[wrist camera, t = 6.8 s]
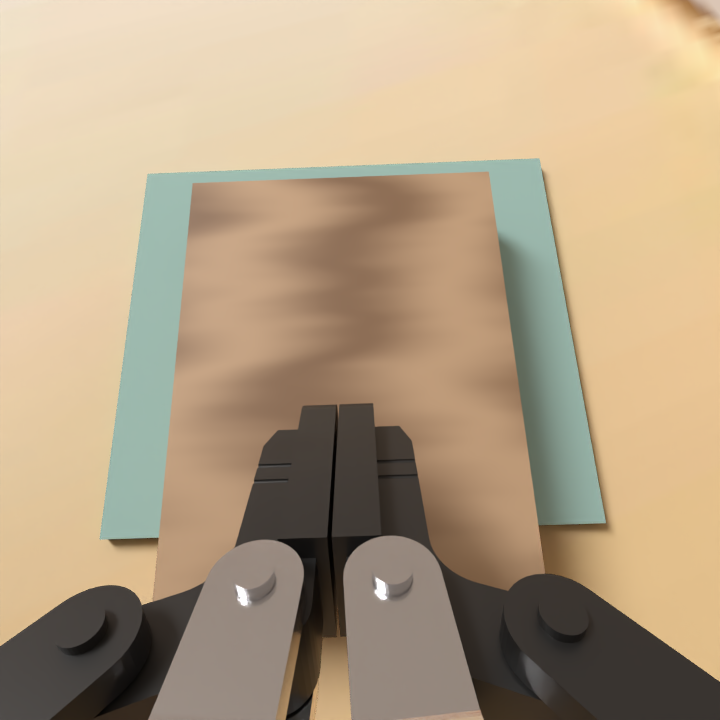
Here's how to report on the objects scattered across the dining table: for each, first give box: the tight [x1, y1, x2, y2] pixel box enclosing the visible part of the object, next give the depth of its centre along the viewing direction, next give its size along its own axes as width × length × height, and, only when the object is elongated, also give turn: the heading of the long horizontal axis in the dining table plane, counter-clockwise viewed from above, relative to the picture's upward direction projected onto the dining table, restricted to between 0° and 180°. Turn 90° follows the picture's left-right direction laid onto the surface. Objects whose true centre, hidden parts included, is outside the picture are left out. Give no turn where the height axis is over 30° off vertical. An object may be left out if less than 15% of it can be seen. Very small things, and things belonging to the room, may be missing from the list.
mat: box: [100, 159, 606, 539], centre depth 17 cm, size 16×14×1 cm
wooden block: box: [153, 172, 545, 602], centre depth 15 cm, size 10×3×13 cm
